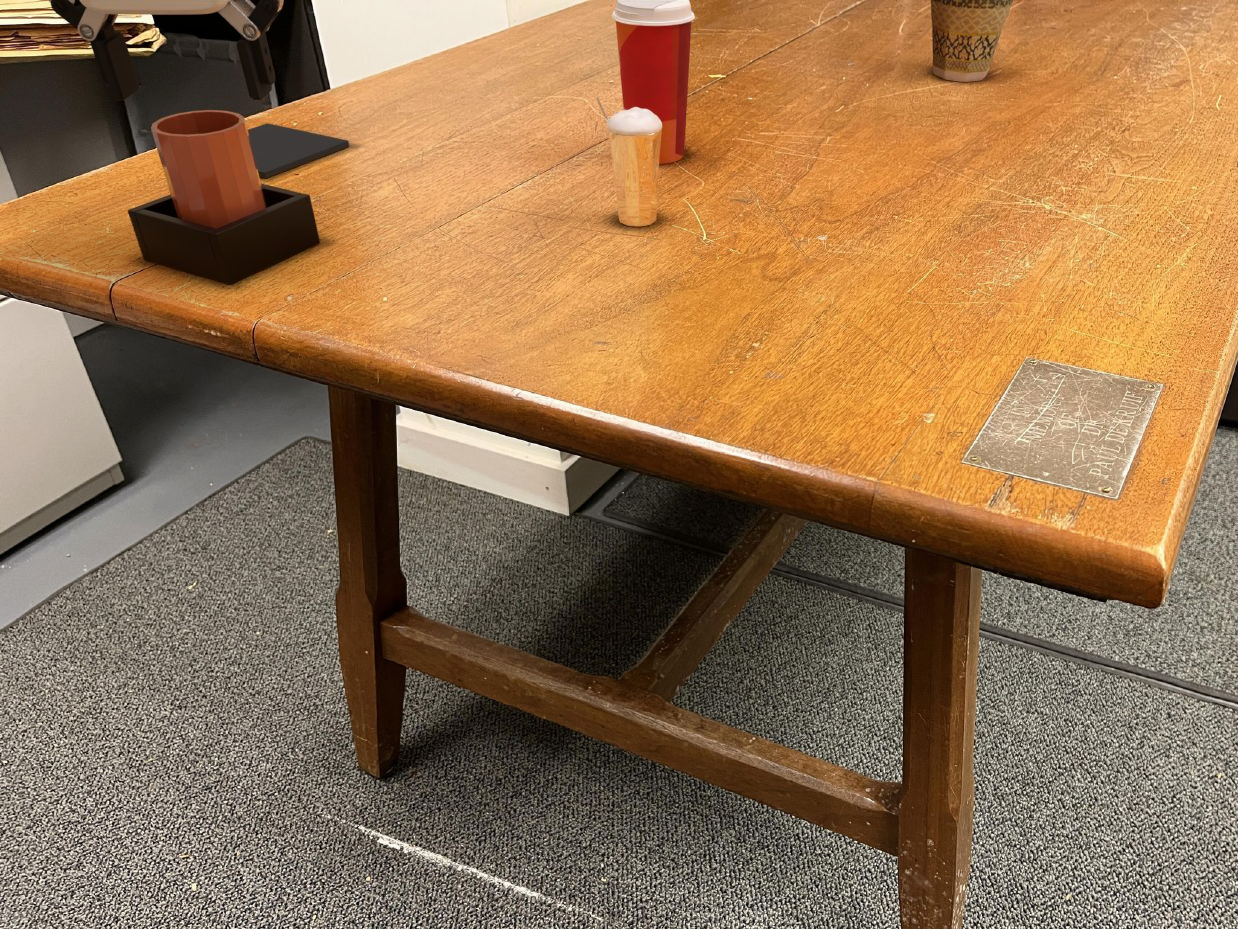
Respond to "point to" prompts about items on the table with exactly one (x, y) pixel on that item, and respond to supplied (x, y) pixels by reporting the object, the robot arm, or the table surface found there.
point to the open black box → (227, 236)
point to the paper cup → (656, 64)
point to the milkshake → (635, 163)
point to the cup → (209, 166)
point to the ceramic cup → (966, 36)
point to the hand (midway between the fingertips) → (195, 95)
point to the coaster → (288, 148)
